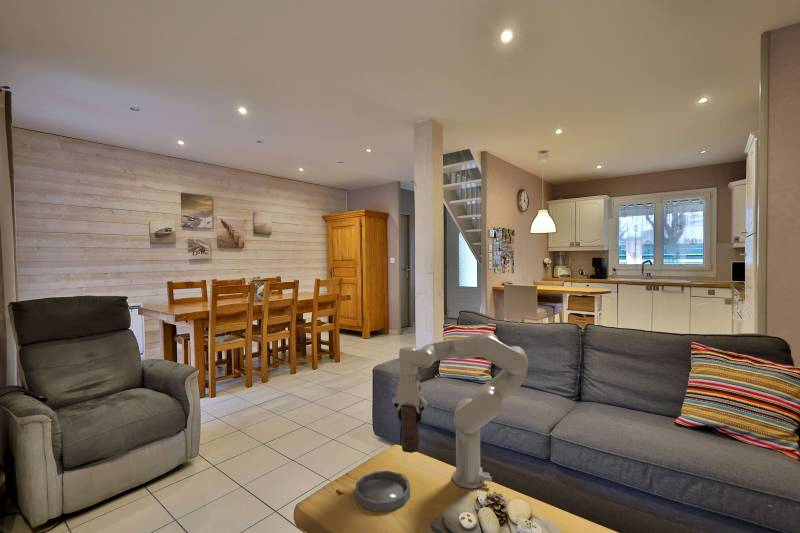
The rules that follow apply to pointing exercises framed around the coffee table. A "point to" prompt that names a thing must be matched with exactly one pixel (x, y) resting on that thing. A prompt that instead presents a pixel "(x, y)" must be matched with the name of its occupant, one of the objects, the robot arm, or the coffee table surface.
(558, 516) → the coffee table surface
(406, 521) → the coffee table surface
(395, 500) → the round tray
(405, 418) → the mottled brown cylinder
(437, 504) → the coffee table surface
